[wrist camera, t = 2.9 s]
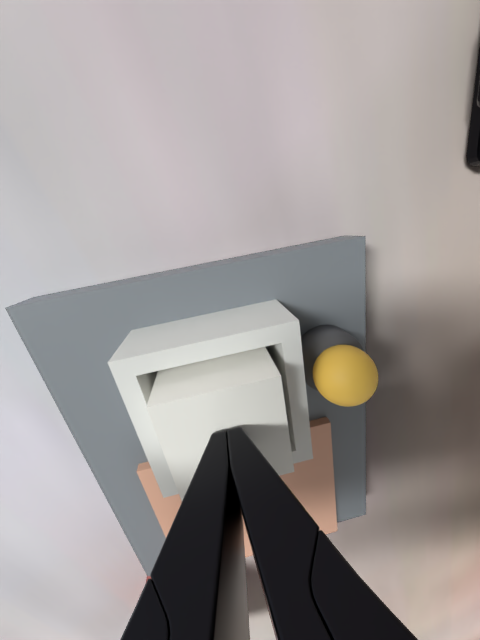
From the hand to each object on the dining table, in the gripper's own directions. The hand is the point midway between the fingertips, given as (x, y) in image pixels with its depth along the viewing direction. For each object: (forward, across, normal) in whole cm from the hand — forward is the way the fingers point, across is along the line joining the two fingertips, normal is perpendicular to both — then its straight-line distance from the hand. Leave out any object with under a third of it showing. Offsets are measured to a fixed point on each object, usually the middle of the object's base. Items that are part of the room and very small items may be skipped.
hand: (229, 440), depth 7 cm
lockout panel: (+5, 0, +4) cm, 6 cm away
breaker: (+3, 0, 0) cm, 3 cm away
